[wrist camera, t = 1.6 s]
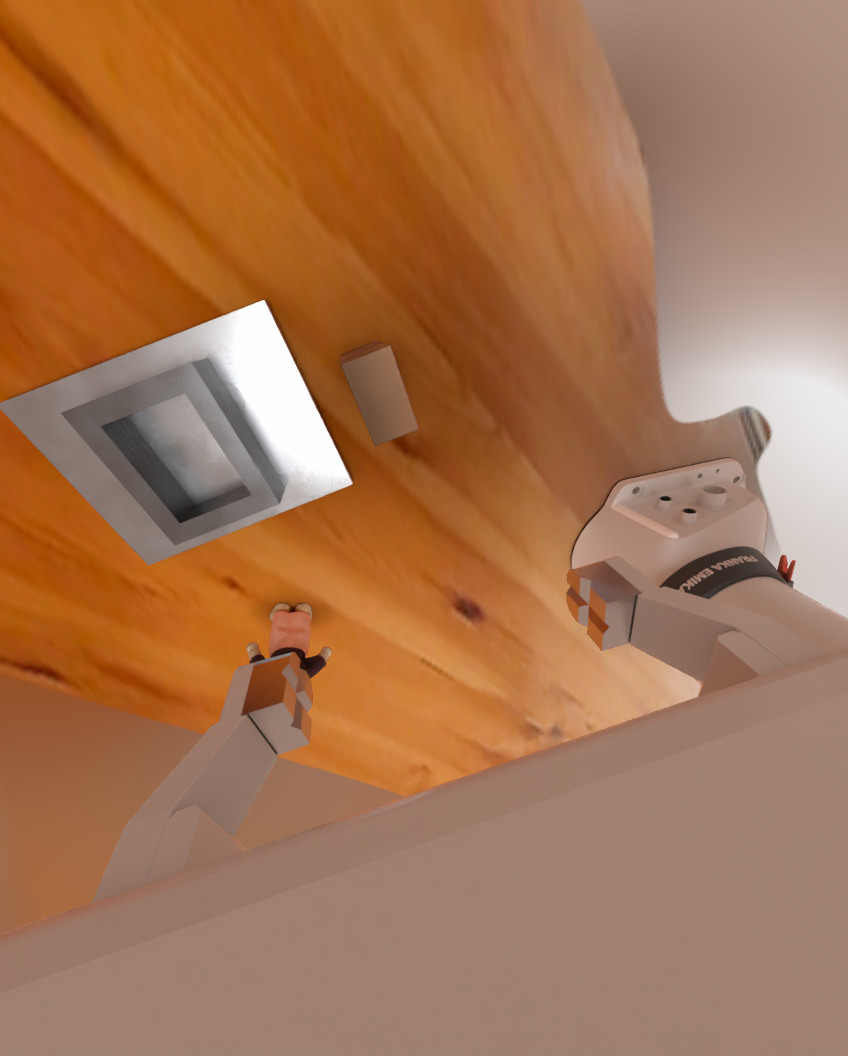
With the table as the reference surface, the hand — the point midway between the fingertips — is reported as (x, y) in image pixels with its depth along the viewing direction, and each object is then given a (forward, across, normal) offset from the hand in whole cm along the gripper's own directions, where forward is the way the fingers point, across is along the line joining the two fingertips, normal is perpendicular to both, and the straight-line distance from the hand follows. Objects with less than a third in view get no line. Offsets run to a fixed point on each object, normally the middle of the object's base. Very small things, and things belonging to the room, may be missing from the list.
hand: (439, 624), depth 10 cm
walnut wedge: (+25, -1, -4) cm, 25 cm away
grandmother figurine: (+25, +13, +18) cm, 34 cm away
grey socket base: (+25, +14, -2) cm, 29 cm away
